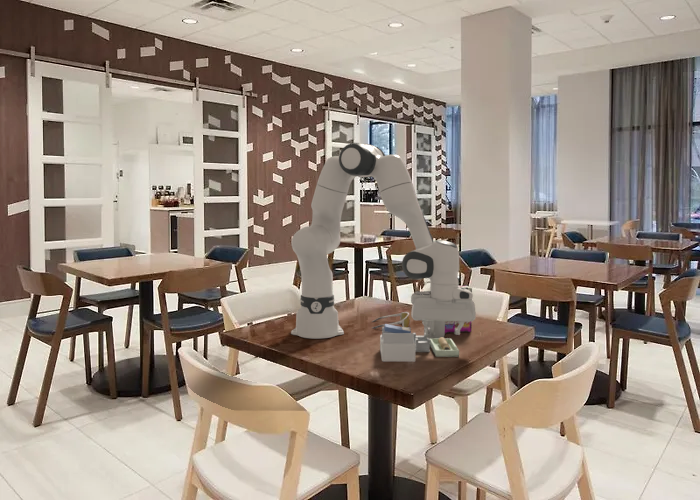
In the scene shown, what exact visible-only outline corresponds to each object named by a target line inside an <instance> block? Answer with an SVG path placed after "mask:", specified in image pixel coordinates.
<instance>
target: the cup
mask: <svg viewBox="0 0 700 500" xmlns="http://www.w3.org/2000/svg"><path fill="white" fill-rule="evenodd" d="M426 326H427V328H430V329H431V331H430V334H427V338H429V339H430V338H441V337H443V338H445V334H446V333H445V321H427V324H426ZM424 333H425V327H424V326H423V334H424Z"/></svg>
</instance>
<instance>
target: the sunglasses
mask: <svg viewBox="0 0 700 500" xmlns="http://www.w3.org/2000/svg"><path fill="white" fill-rule="evenodd" d="M391 317H399V321H395V322H390V323H388V324H389V325H394V326H395V325H401V327H410V324H411V319H410V312H408V311H404V312H403V311H402V312H400V313H395V314H389V315H385V316H384V315H383V316H379V317H377V318H375V319H373V320H372V321H371V323H375V322H376V321H379V320H381V319H386V318H391ZM385 324H386V323H384V324H379V325H376V326H372V329H375V330H376V329H378V328H382V327H384V325H385Z"/></svg>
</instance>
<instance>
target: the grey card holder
mask: <svg viewBox="0 0 700 500" xmlns="http://www.w3.org/2000/svg"><path fill="white" fill-rule="evenodd" d="M405 328H409V329H410V330H411V329H412V328H411V327H410V326H409V327H405ZM413 333H414V332H411V333H391V332H386V331H384V326H383V327H381V334H380V336H379V351H380V357H381V362H416V351H415V343H414V340H413Z"/></svg>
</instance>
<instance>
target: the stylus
mask: <svg viewBox="0 0 700 500" xmlns="http://www.w3.org/2000/svg"><path fill="white" fill-rule="evenodd" d="M438 342H439V344H440V346H441V348H442V349H443V350H451V348H450V346H449V345H448V343H447V341H446V340H445V337H444V338H443V337H441V338H439V340H438Z"/></svg>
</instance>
